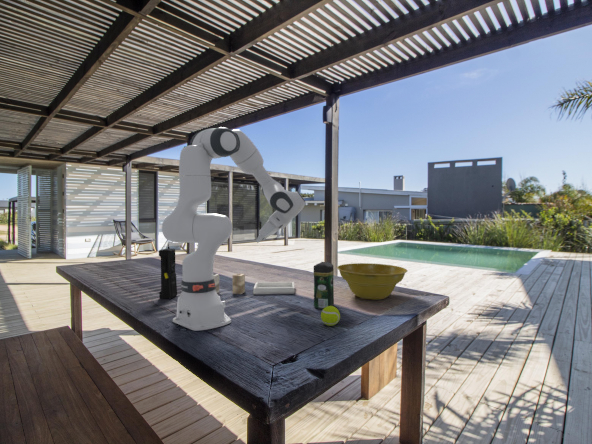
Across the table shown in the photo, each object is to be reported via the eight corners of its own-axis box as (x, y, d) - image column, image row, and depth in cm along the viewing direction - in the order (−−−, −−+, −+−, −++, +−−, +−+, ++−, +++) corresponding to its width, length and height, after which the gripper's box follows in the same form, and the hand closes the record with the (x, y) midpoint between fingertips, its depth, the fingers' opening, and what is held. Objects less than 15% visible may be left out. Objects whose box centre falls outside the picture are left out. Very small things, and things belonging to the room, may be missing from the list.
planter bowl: (398, 288, 163) (398, 263, 162) (416, 306, 131) (416, 274, 130) (335, 287, 166) (335, 262, 166) (338, 305, 134) (337, 273, 134)
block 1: (219, 292, 158) (219, 273, 158) (215, 294, 153) (215, 275, 153) (211, 291, 159) (210, 273, 159) (206, 293, 154) (206, 275, 154)
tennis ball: (325, 329, 105) (324, 309, 105) (318, 323, 111) (317, 304, 111) (343, 327, 107) (343, 308, 106) (335, 321, 113) (335, 302, 113)
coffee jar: (317, 302, 138) (317, 260, 137) (335, 304, 135) (335, 261, 135) (311, 308, 128) (311, 263, 128) (330, 310, 126) (330, 264, 125)
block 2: (244, 291, 158) (244, 273, 158) (241, 294, 153) (241, 275, 153) (236, 291, 159) (236, 273, 159) (232, 293, 154) (232, 275, 154)
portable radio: (171, 299, 143) (170, 245, 143) (158, 299, 144) (157, 245, 143) (178, 295, 151) (177, 243, 151) (165, 295, 151) (164, 243, 151)
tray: (293, 287, 167) (293, 281, 167) (294, 293, 153) (294, 287, 153) (256, 287, 166) (256, 282, 166) (253, 294, 152) (253, 288, 152)
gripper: (279, 215, 162) (261, 234, 164) (269, 216, 142) (248, 237, 144) (287, 224, 161) (269, 242, 163) (279, 226, 141) (258, 247, 143)
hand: (259, 240), depth 153 cm, fingers open, 8 cm apart
